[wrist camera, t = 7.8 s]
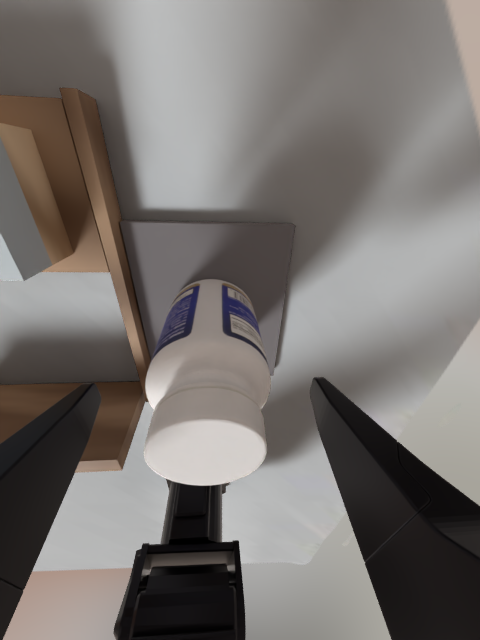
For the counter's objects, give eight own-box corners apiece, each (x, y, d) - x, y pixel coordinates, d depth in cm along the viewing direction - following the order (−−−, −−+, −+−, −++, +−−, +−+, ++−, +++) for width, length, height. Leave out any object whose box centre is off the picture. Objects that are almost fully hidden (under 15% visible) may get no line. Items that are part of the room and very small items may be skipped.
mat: (272, 370, 19) (273, 375, 18) (156, 372, 18) (155, 378, 18) (292, 223, 13) (295, 225, 12) (123, 220, 12) (119, 222, 12)
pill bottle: (179, 350, 16) (142, 501, 9) (163, 279, 14) (89, 412, 6) (255, 344, 17) (282, 488, 9) (254, 274, 14) (293, 395, 6)
